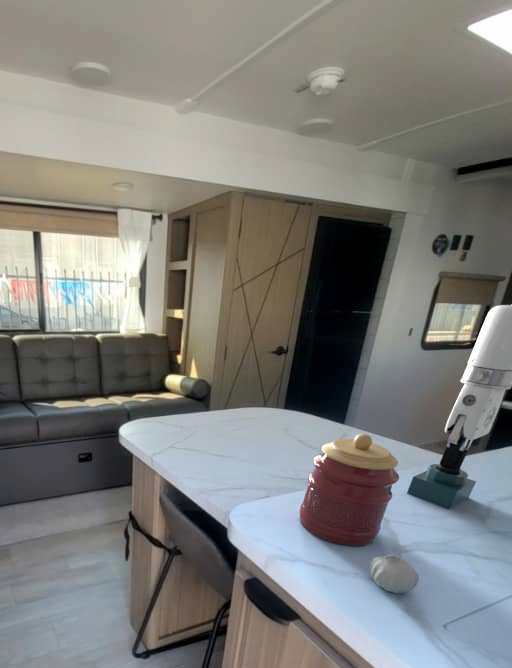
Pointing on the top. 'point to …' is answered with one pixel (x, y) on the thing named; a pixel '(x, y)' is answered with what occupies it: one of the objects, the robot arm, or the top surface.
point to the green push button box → (441, 487)
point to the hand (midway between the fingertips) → (449, 466)
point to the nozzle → (448, 470)
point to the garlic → (393, 574)
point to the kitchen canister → (349, 491)
